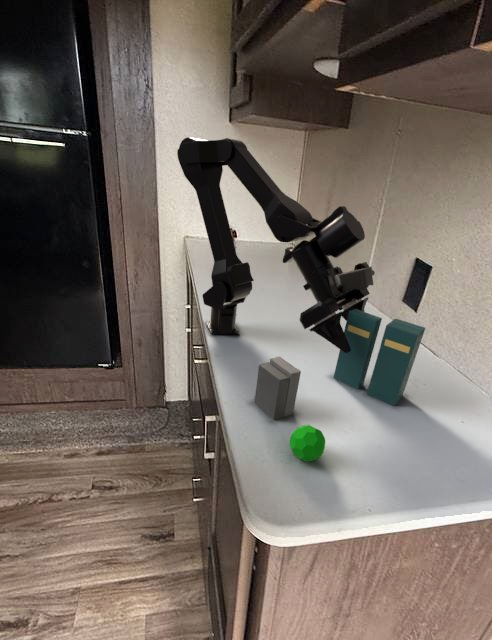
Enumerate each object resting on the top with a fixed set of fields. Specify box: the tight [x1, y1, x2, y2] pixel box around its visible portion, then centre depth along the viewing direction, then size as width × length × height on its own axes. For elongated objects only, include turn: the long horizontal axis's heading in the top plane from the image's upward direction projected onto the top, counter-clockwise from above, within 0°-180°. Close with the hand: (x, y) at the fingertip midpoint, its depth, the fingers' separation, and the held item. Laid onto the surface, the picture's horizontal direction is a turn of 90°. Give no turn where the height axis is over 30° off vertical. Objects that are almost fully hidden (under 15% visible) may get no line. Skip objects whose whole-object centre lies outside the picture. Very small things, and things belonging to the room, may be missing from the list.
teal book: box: [332, 309, 383, 390], centre depth 74 cm, size 6×2×14 cm, turn 52°
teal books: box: [366, 318, 426, 406], centre depth 72 cm, size 6×5×14 cm
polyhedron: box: [288, 424, 326, 462], centre depth 55 cm, size 5×5×5 cm
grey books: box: [253, 356, 302, 421], centre depth 64 cm, size 6×4×8 cm
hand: (358, 344), depth 74 cm, fingers open, 9 cm apart
